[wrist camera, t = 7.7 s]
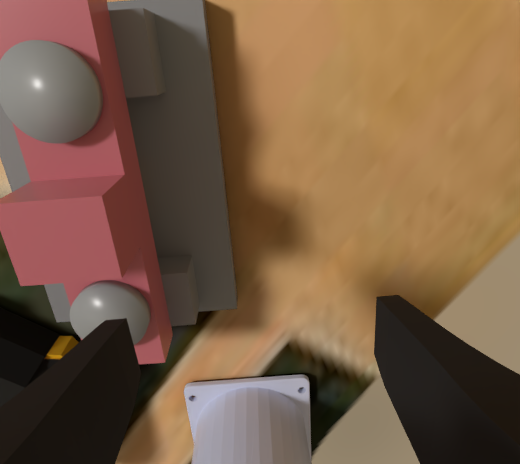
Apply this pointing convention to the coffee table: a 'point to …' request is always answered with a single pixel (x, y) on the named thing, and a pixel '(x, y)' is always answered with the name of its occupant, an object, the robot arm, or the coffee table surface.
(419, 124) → the coffee table surface
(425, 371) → the robot arm
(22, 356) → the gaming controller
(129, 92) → the display stand
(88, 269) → the frame bar
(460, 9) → the coffee table surface
